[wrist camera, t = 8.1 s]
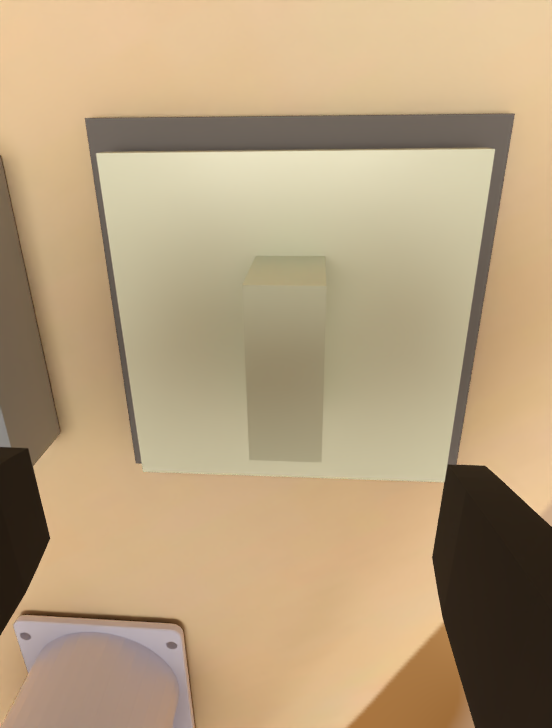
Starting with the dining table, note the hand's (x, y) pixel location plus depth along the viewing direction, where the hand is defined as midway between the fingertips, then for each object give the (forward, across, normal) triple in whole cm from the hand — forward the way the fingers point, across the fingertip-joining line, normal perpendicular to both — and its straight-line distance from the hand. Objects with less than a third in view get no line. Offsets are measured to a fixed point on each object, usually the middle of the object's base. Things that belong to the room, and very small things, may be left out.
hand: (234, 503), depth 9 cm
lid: (+9, -1, 0) cm, 9 cm away
